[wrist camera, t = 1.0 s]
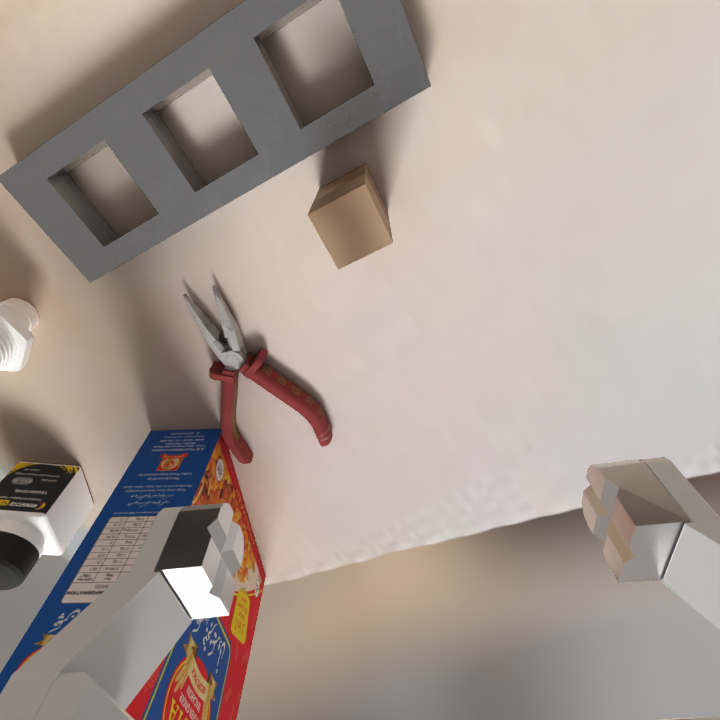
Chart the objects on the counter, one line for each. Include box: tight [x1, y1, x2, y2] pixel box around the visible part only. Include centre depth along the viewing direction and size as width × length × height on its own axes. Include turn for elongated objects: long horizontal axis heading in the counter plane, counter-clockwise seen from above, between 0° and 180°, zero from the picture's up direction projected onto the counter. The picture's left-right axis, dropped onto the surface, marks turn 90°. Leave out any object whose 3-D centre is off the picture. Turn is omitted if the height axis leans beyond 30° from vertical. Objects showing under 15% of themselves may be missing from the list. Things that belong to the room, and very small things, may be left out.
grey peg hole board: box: [0, 0, 431, 282], centre depth 31 cm, size 30×9×2 cm, turn 117°
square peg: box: [308, 164, 393, 269], centre depth 31 cm, size 4×4×8 cm
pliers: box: [184, 285, 332, 464], centre depth 43 cm, size 12×20×3 cm, turn 18°
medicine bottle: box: [0, 461, 94, 590], centre depth 47 cm, size 7×7×12 cm
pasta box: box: [0, 429, 266, 720], centre depth 43 cm, size 28×8×28 cm, turn 3°
